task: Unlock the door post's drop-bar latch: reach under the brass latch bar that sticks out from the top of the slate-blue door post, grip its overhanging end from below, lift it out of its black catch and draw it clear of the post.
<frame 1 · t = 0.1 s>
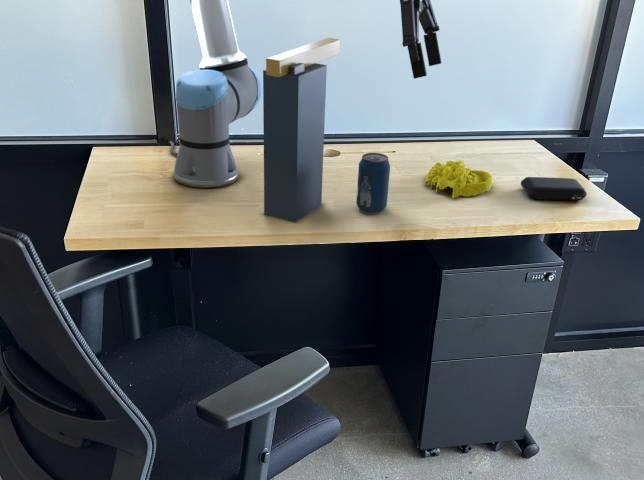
hand: (428, 70, 162), 28 cm above the table, tool tilted 20°, fingers open, 13 cm apart
latch bar: (305, 64, 152), point 30 cm above the table, touching door post
carrying case: (552, 196, 181), on the table
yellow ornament: (458, 185, 184), on the table
door post: (293, 209, 166), on the table
soda can: (371, 210, 168), on the table
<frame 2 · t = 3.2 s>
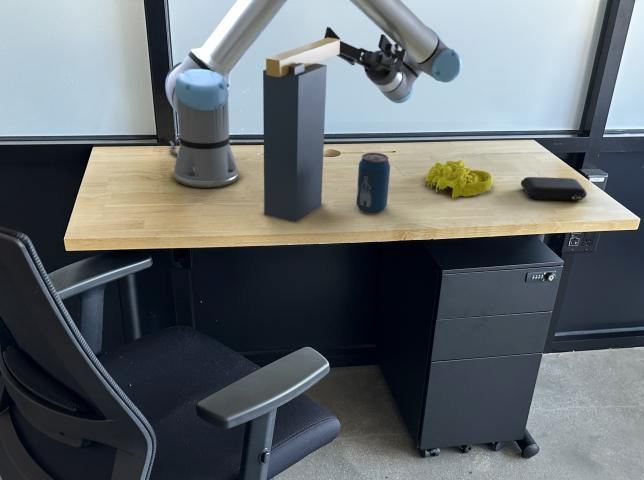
hand: (353, 36, 167), 32 cm above the table, tool pointing upward, fingers open, 13 cm apart
nothing on the table moved.
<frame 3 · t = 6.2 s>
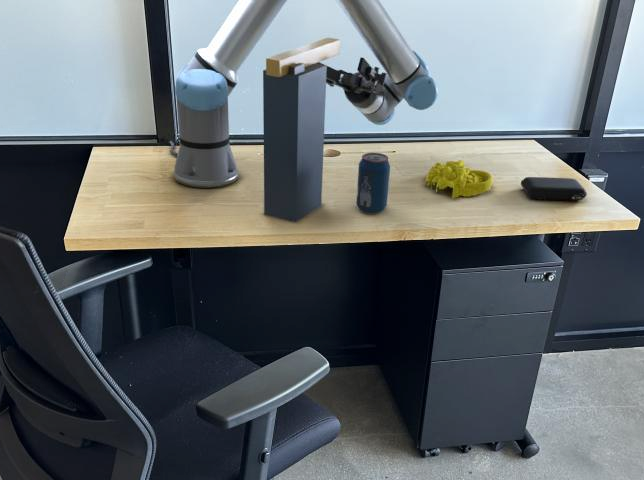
hand: (332, 59, 162), 29 cm above the table, tool pointing upward, fingers open, 13 cm apart
nothing on the table moved.
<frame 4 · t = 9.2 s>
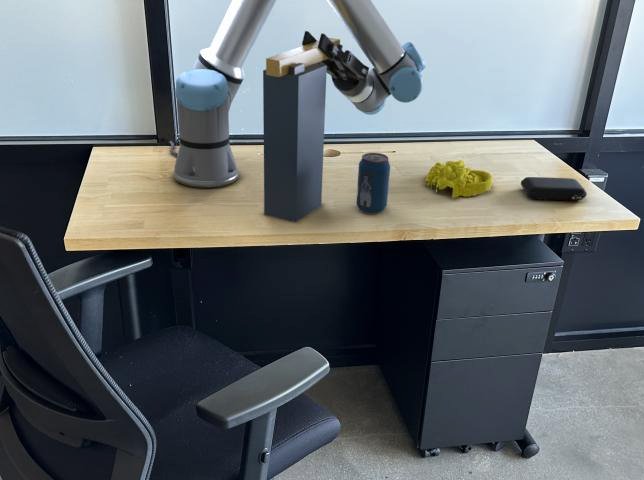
hand: (313, 39, 152), 34 cm above the table, tool pointing upward, fingers closed on latch bar, 3 cm apart
latch bar: (305, 64, 152), point 30 cm above the table, touching door post, gripper
everything else where it was.
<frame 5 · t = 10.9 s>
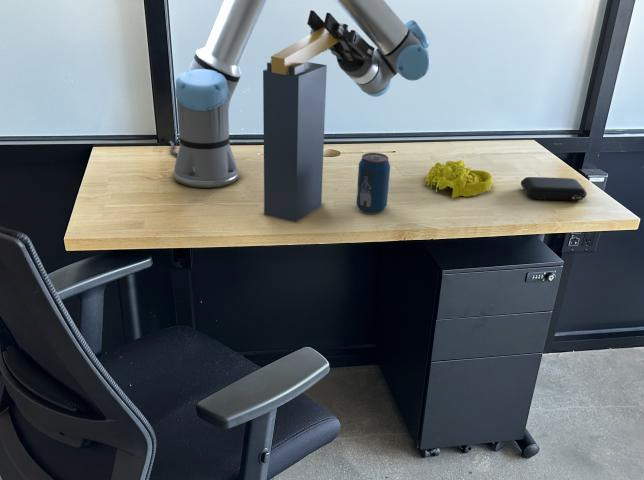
hand: (318, 18, 151), 38 cm above the table, tool pointing upward, fingers closed on latch bar, 3 cm apart
latch bar: (310, 54, 152), point 32 cm above the table, tilted 6°, touching gripper
everything else where it was.
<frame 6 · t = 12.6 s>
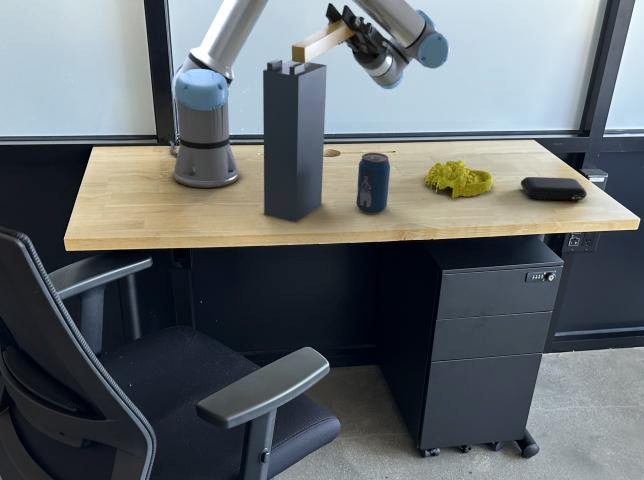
hand: (336, 10, 157), 38 cm above the table, tool pointing upward, fingers closed on latch bar, 3 cm apart
latch bar: (328, 45, 158), point 32 cm above the table, tilted 6°, touching gripper
everything else where it was.
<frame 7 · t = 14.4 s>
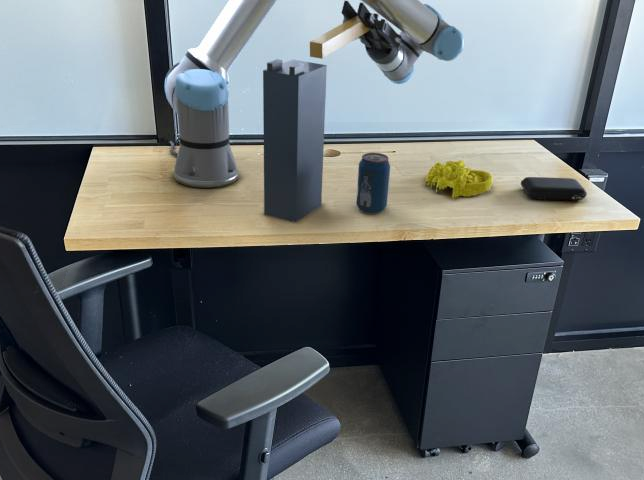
hand: (352, 8, 163), 38 cm above the table, tool pointing upward, fingers closed on latch bar, 3 cm apart
latch bar: (343, 41, 164), point 32 cm above the table, tilted 6°, touching arm, gripper
everything else where it was.
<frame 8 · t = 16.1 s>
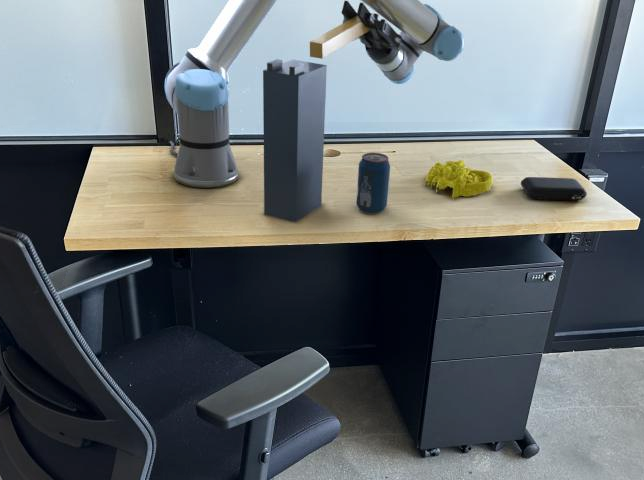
hand: (352, 8, 163), 38 cm above the table, tool pointing upward, fingers closed on latch bar, 3 cm apart
latch bar: (343, 41, 164), point 32 cm above the table, tilted 6°, touching arm, gripper
everything else where it was.
at the end: latch bar moved 18.0 cm from its start; the gripper is holding latch bar; latch bar touching arm, gripper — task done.
